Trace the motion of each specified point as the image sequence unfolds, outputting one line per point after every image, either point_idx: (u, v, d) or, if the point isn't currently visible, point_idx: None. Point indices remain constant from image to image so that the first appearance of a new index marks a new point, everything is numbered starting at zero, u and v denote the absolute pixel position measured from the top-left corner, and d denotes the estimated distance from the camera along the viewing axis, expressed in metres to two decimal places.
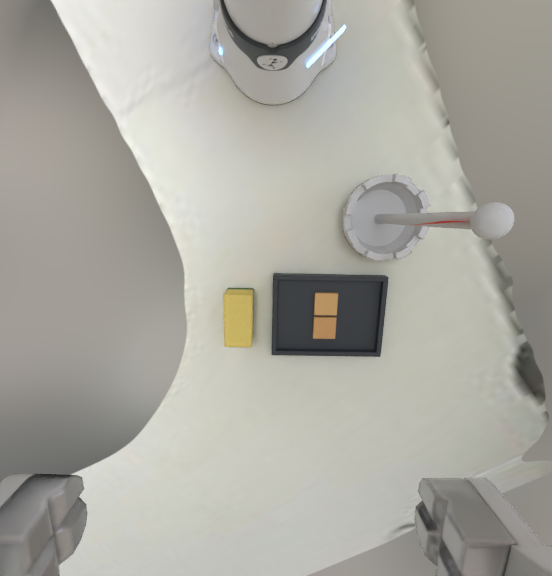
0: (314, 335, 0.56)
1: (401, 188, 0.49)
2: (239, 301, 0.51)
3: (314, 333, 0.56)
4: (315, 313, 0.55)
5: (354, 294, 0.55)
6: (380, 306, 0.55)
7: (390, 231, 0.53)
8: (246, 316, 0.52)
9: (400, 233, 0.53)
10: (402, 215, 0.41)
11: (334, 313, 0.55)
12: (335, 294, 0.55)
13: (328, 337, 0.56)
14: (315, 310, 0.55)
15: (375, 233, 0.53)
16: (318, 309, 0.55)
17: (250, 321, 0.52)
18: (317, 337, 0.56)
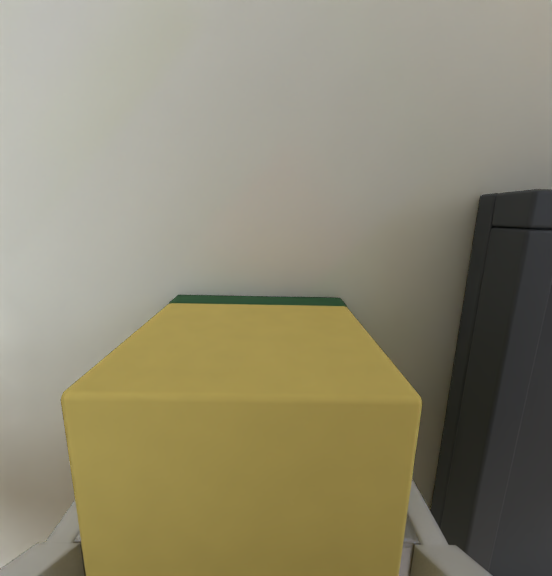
0: None
1: None
2: (268, 474, 0.04)
3: None
4: None
5: None
6: None
7: None
8: None
9: None
10: None
11: None
12: None
13: None
14: None
15: None
16: None
17: None
18: None
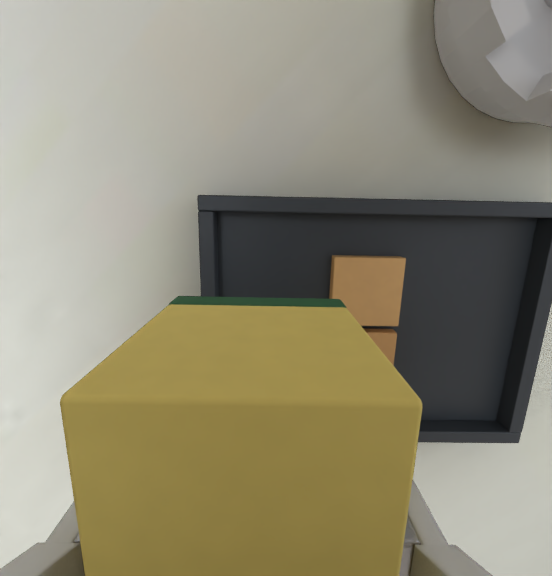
0: None
1: None
2: (268, 477, 0.04)
3: None
4: None
5: (452, 262, 0.18)
6: (534, 298, 0.18)
7: None
8: None
9: None
10: None
11: (391, 320, 0.18)
12: (397, 261, 0.17)
13: None
14: None
15: (541, 49, 0.15)
16: None
17: None
18: None
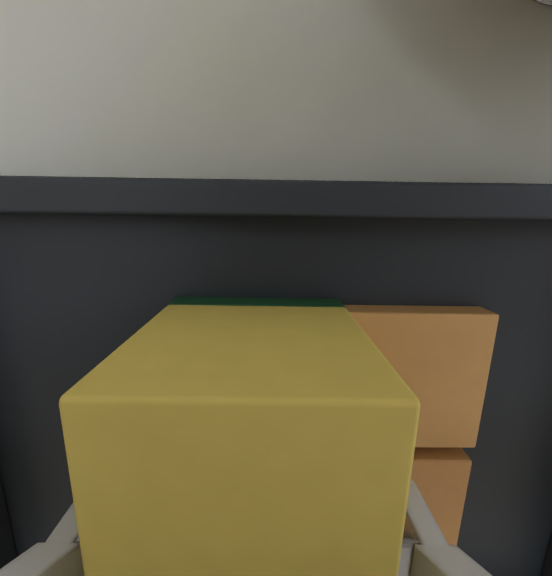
0: None
1: None
2: (266, 477, 0.04)
3: None
4: None
5: None
6: None
7: None
8: None
9: None
10: None
11: (463, 437, 0.09)
12: (481, 320, 0.08)
13: None
14: None
15: None
16: None
17: None
18: None
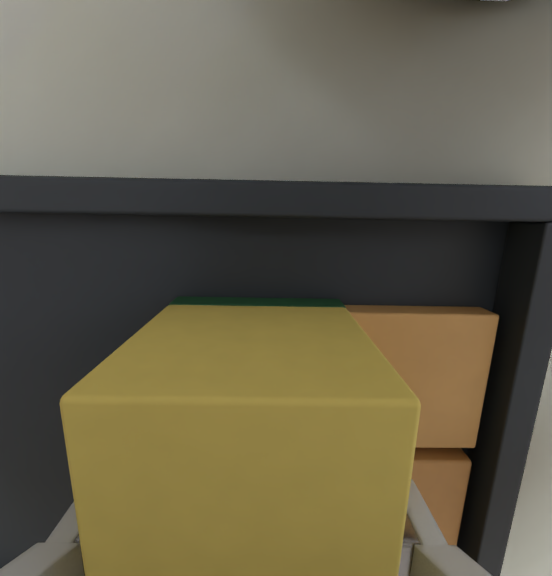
0: None
1: None
2: (266, 477, 0.04)
3: None
4: None
5: None
6: (502, 391, 0.09)
7: None
8: None
9: None
10: None
11: (463, 437, 0.09)
12: (481, 321, 0.08)
13: None
14: None
15: None
16: None
17: None
18: None
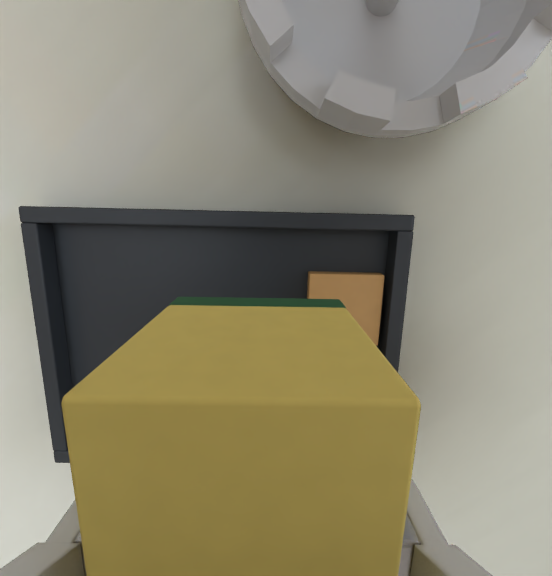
0: None
1: None
2: (267, 477, 0.04)
3: None
4: None
5: (304, 276, 0.17)
6: (387, 314, 0.17)
7: (422, 49, 0.15)
8: None
9: (458, 56, 0.15)
10: None
11: (371, 339, 0.17)
12: (375, 278, 0.17)
13: None
14: None
15: (369, 56, 0.15)
16: None
17: None
18: None
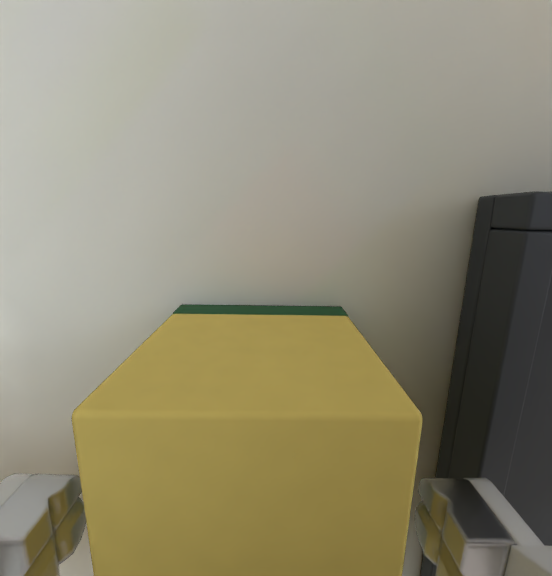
0: None
1: None
2: (272, 489, 0.04)
3: None
4: None
5: None
6: None
7: None
8: None
9: None
10: None
11: None
12: None
13: None
14: None
15: None
16: None
17: None
18: None
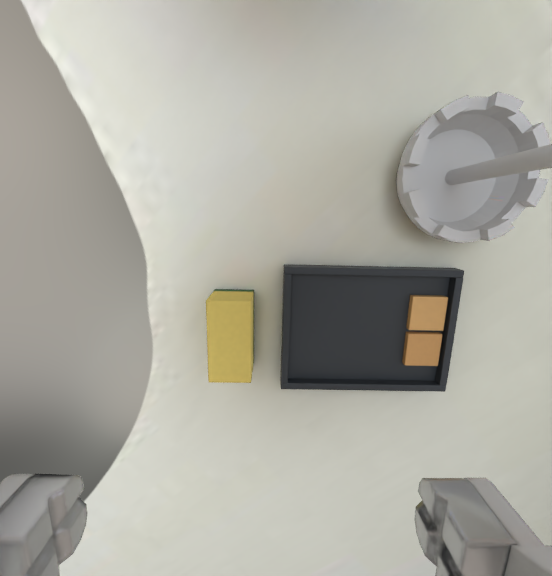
0: (407, 360, 0.37)
1: (496, 124, 0.30)
2: (231, 311, 0.32)
3: (407, 357, 0.37)
4: (411, 327, 0.36)
5: (408, 297, 0.36)
6: (448, 315, 0.36)
7: (469, 198, 0.33)
8: (243, 334, 0.32)
9: (485, 201, 0.33)
10: (532, 150, 0.22)
11: (440, 327, 0.36)
12: (444, 298, 0.35)
13: (428, 363, 0.37)
14: (411, 323, 0.36)
15: (445, 201, 0.33)
16: (415, 321, 0.36)
17: (249, 342, 0.32)
18: (411, 363, 0.37)
